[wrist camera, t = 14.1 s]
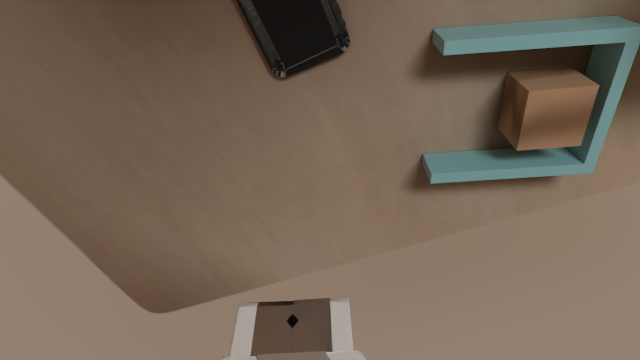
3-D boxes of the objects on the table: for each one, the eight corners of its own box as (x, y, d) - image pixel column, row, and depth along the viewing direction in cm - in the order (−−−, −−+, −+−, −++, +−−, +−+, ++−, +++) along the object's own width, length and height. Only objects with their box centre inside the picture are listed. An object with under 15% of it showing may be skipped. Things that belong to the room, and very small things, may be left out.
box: (433, 28, 37) (444, 41, 34) (616, 15, 37) (646, 26, 34) (421, 163, 45) (430, 183, 42) (572, 153, 45) (592, 173, 42)
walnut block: (506, 71, 40) (529, 91, 36) (569, 66, 40) (599, 85, 36) (497, 127, 43) (516, 150, 39) (555, 122, 43) (580, 145, 39)
